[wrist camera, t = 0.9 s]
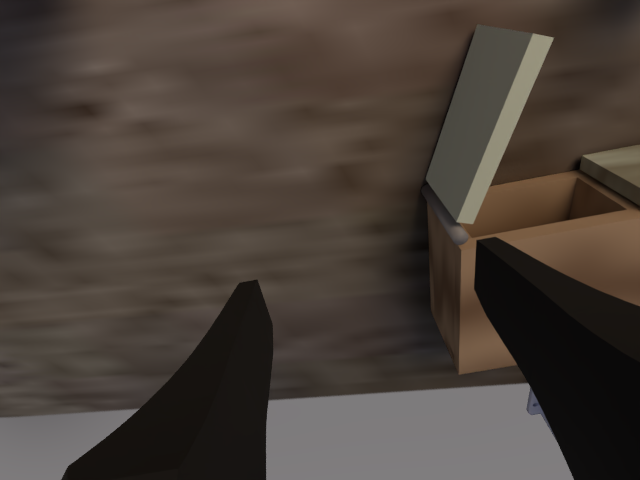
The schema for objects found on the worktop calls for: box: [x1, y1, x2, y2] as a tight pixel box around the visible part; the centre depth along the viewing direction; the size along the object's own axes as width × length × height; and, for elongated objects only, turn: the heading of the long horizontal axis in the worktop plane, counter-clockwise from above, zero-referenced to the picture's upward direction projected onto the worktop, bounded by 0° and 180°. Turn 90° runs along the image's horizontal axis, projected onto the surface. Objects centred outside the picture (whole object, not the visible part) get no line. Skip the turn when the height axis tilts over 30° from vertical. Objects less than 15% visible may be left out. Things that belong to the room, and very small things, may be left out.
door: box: [421, 24, 554, 245], centre depth 18 cm, size 1×9×5 cm, turn 170°
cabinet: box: [427, 145, 640, 375], centre depth 22 cm, size 10×15×5 cm, turn 100°
